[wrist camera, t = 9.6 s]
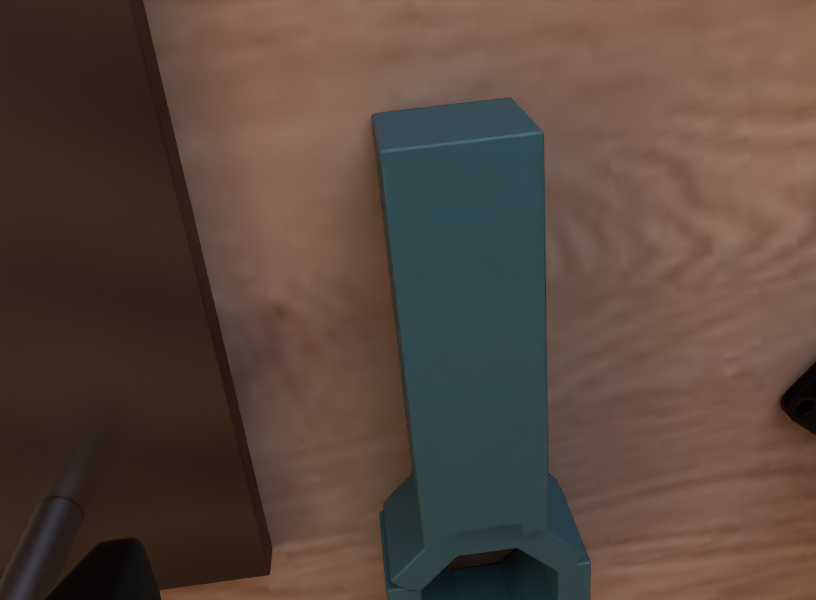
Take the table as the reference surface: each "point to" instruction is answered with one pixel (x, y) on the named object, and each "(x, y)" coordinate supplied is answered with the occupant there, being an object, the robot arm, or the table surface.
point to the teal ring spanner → (472, 358)
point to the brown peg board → (108, 318)
